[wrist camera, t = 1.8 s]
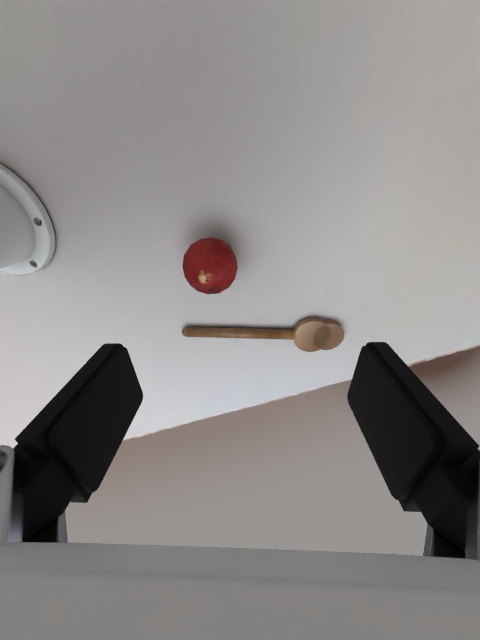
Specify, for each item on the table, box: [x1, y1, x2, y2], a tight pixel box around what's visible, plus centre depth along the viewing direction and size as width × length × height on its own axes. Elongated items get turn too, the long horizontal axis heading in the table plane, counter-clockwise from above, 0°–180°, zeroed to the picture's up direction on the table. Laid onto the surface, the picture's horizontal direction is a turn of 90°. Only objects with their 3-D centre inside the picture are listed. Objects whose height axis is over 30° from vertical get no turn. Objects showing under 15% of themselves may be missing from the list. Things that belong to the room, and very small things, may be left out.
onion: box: [183, 238, 238, 294], centre depth 24 cm, size 6×6×8 cm
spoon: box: [182, 317, 344, 352], centre depth 32 cm, size 23×5×1 cm, turn 90°
